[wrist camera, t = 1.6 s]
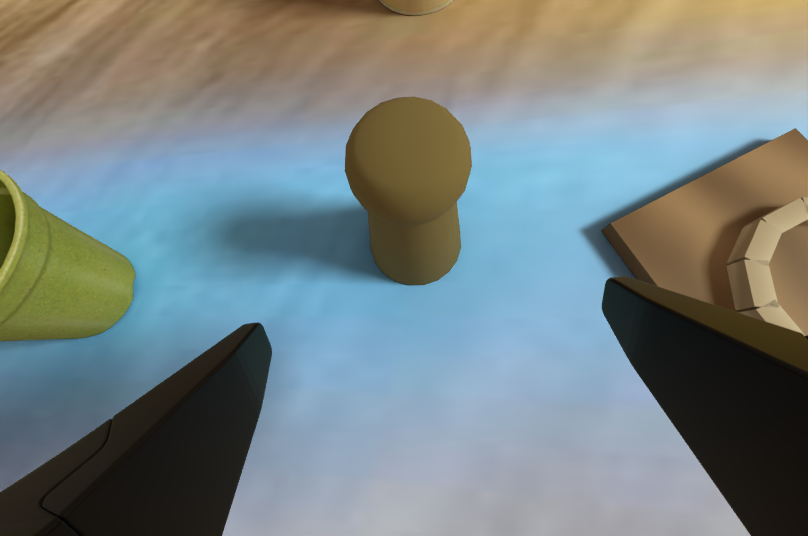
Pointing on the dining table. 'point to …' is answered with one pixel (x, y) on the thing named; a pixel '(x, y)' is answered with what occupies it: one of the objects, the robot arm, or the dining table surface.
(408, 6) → the white canister
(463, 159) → the olive brown pestle
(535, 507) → the dining table surface
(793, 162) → the ring board
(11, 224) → the plant pot
